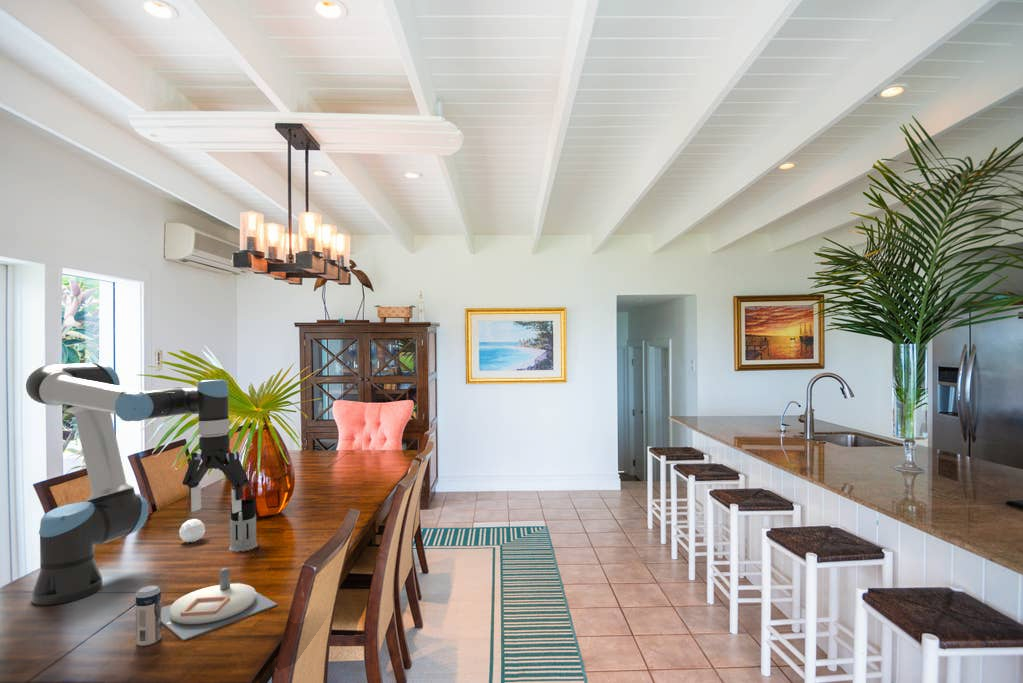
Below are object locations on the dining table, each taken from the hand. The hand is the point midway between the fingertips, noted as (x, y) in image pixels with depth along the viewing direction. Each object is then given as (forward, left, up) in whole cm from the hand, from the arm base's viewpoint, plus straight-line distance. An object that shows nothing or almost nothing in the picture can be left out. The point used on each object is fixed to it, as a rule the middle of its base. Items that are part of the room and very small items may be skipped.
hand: (216, 511), depth 155 cm
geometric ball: (+11, +47, -21) cm, 53 cm away
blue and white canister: (-22, -19, -21) cm, 36 cm away
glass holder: (+18, +24, -21) cm, 37 cm away
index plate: (-6, -14, -21) cm, 26 cm away
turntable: (-6, -14, -21) cm, 26 cm away
